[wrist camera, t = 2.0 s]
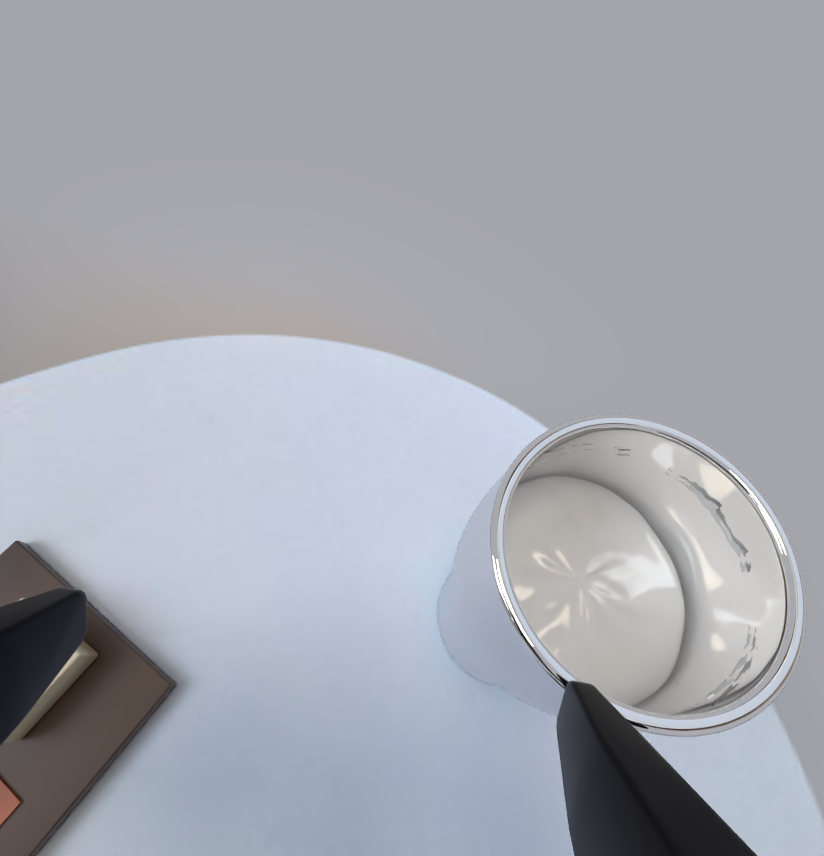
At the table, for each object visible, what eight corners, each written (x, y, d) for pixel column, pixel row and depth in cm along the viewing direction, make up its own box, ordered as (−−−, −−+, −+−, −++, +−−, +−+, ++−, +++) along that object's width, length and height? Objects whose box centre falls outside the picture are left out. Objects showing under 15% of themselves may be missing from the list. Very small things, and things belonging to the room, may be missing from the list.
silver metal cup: (437, 706, 21) (519, 780, 8) (419, 551, 24) (455, 416, 11) (585, 686, 22) (891, 723, 9) (549, 538, 25) (733, 394, 12)
